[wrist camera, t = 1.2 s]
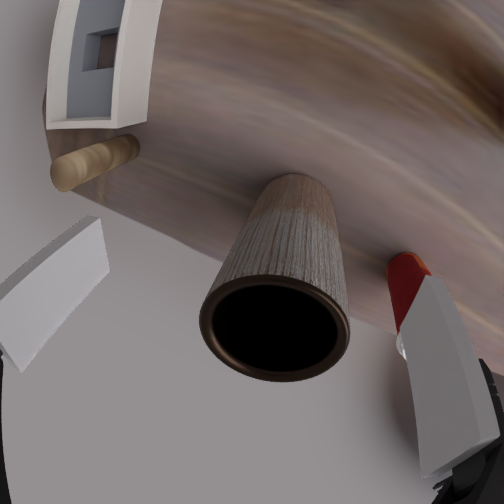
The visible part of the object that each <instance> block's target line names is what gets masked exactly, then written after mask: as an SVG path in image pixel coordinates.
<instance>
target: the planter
mask: <svg viewBox="0 0 504 504" xmlns="http://www.w3.org/2000/svg"><path fill="white" fill-rule="evenodd" d="M199 326H200V330H201V334H202V337H203V339H204V341H205V343H206V345H207V346H208V348H209V349H210V350H211V351H212V352H213V354H214V355H215V356H216V357H217V358H218V359H220V361H222V362H223V363H224V364H226V365H227V366H228V367H230V368H232V369H233V370H235V371H237V372H239V373H242V374H244V375H246V376H249V377H252V378H255V379H259V380H264V381H270V382H295V381H301V380H306V379H309V378H312V377H315V376H318V375H320V374H322V373H324V372H325V371H327V370H329V369H330V368H331V367H333V366H334V365H335V364H336V363H337V362H338V361H339V360H340V359H341V358H342V356H343V355H344V353H345V351H346V349H347V347H348V344H349V340H350V319H349V309H348V299H347V290H346V282H345V274H344V266H343V259H342V252H341V245H340V239H339V232H338V226H337V220H336V215H335V209H334V204H333V201H332V198H331V196H330V194H329V192H328V191H327V189H326V188H325V187H324V186H323V185H322V184H321V183H320V182H319V181H317V180H316V179H314V178H312V177H310V176H307V175H303V174H286V175H283V176H280V177H278V178H276V179H274V180H273V181H271V182H270V183H269V184H268V185H267V186H266V187H265V188H264V190H263V191H262V193H261V194H260V196H259V198H258V200H257V202H256V203H255V205H254V207H253V209H252V211H251V213H250V215H249V216H248V218H247V220H246V222H245V224H244V226H243V228H242V229H241V231H240V233H239V235H238V237H237V239H236V241H235V243H234V244H233V246H232V248H231V250H230V252H229V254H228V256H227V258H226V260H225V262H224V263H223V265H222V267H221V269H220V271H219V273H218V275H217V277H216V279H215V281H214V283H213V285H212V286H211V288H210V290H209V292H208V294H207V296H206V298H205V301H204V302H203V305H202V307H201V310H200V315H199Z"/></svg>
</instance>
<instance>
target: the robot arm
mask: <svg viewBox="0 0 504 504" xmlns="http://www.w3.org/2000/svg"><path fill="white" fill-rule="evenodd" d="M109 272H110V268H109V263H108V258H107V253H106V248H105V242H104V237H103V231H102V226H101V220H100V218H99V217H92V216H86V217H85V218H84V219H82V220H81V221H79V222H78V223H76V224H75V225H74V226H72V227H71V228H69V229H68V230H67V231H65V232H64V233H63V234H61V235H60V236H59V237H57V238H56V239H55V240H53V241H52V242H51V243H49V244H48V245H47V246H46V247H44V248H43V249H42V250H40V251H39V252H38V253H37V254H35V255H34V256H33V257H32V258H30V259H29V260H28V261H27V262H26V263H24V264H23V265H22V266H21V267H20V268H19V269H18V270H16V271H15V272H14V273H13V274H12V275H10V276H9V277H8V278H7V279H6V280H5V281H4V282H3V283H2V284H1V285H0V504H11V499H10V494H9V489H8V483H7V477H6V471H5V463H4V454H3V443H2V423H1V398H2V396H1V395H2V376H3V361H2V359H1V356H2V355H3V354H4V356H5V357H6V359H7V360H8V362H9V363H10V364H11V365H12V366H13V367H14V368H16V369H17V370H18V371H20V372H21V373H22V372H23V371H24V369H25V368H26V367H27V366H28V365H29V363H30V362H31V361H32V359H33V358H34V357H35V356H36V354H37V353H38V352H39V351H40V349H41V348H42V347H43V346H44V344H45V343H46V342H47V341H48V340H49V338H50V337H51V336H52V335H53V333H54V332H55V331H56V330H57V329H58V328H59V327H60V325H61V324H62V323H63V322H64V321H65V319H66V318H67V317H68V316H69V315H70V314H71V313H72V312H73V310H74V309H75V308H76V307H77V306H78V305H79V304H80V302H81V301H83V299H84V298H85V297H86V296H87V295H88V294H89V293H90V292H91V291H92V290H93V289H94V288H95V287H96V285H97V284H98V283H99V282H100V281H101V280H102V279H103V278H104V277H105V276H106V275H107V274H108V273H109ZM400 332H401V337H402V341H403V346H404V350H405V355H406V360H407V365H408V370H409V376H410V382H411V387H412V394H413V400H414V407H415V415H416V423H417V433H418V443H419V456H420V476H421V478H428V477H434V476H440V475H442V474H444V473H445V472H447V471H449V470H451V469H452V472H453V475H452V476H450V477H448V478H446V479H444V480H443V481H441V482H439V483H437V484H436V485H435V486H434V487H433V489H434V490H435V489H437V488H439V487H441V486H443V487H442V489H440V490H439V491H438V495H437V496H436V498H435V500H434V501H433V502H432V504H504V412H503V409H502V405H501V402H500V398H499V397H498V392H497V389H496V386H494V384H495V383H494V380H493V377H492V374H491V371H490V369H489V368H488V366H487V365H486V364H485V362H484V361H483V359H478V357H477V355H476V352H475V349H474V347H473V344H472V342H471V339H470V337H469V335H468V332H467V330H466V327H465V325H464V323H463V321H462V318H461V316H460V314H459V312H458V310H457V308H456V305H455V303H454V301H453V299H452V297H451V295H450V293H449V291H448V289H447V287H446V285H445V283H444V281H443V280H442V278H440V277H434V276H429V275H425V278H424V280H423V282H422V284H421V286H420V289H419V291H418V293H417V295H416V297H415V299H414V301H413V303H412V305H411V307H410V309H409V311H408V313H407V315H406V317H405V319H404V321H403V322H402V324H401V326H400Z"/></svg>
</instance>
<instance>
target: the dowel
mask: <svg viewBox="0 0 504 504" xmlns="http://www.w3.org/2000/svg"><path fill="white" fill-rule="evenodd" d="M139 150H140V145H139V142H138V140H137V138H136V137H135V136H133V135H131V134H126V135H122V136H119V137H116V138H112V139H109V140H106V141H103V142H100V143H97V144H94V145H91V146H88V147H85V148H82V149H79V150H77V151H74V152H71V153H69V154H66V155H63V156H61V157H58V158H56V159H55V160H54V161H53V162H52V164H51V169H50V174H51V179H52V182H53V184H54V186H55V187H56V188H57V189H58V190H59V191H61V192H67V191H69V190H71V189H73V188H75V187H76V186H78V185H80V184H82V183H84V182H86V181H88V180H90V179H92V178H94V177H96V176H98V175H100V174H102V173H104V172H107V171H109V170H111V169H113V168H115V167H117V166H120V165H122V164H124V163H126V162H128V161H131V160H133V159H135V158H136V157H137V156H138V154H139Z"/></svg>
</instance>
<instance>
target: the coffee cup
mask: <svg viewBox="0 0 504 504" xmlns="http://www.w3.org/2000/svg"><path fill="white" fill-rule="evenodd" d="M386 275H387V281H388V286H389V291H390V296H391V301H392V306H393V312H394V317H395V323H396V328H397V335H398V336H397V340H396V341H397V342H396V345H397V349H398V351H399V353H400V354H401V355H402V356H403V357H404V358H405V360H406V355H405V350H404V346H403V341H402V337H401V332H400V326H401V324H402V322H403V321H404V319H405V317H406V315H407V313H408V311H409V309H410V307H411V305H412V303H413V301H414V299H415V297H416V295H417V293H418V291H419V289H420V286H421V284H422V282H423V280H424V278H425V275H429V276H432V275H431V273H430V272H429V270H428V269H427V267H426V266H425V264H424V263H423V262H422V260H421V259H420V258H419V257H418V256H417V255H415V254H413V253H402V254H399V255H397V256H396V257H394V258H393V259H392V260H391V261H390V263H389V264H388V267H387V271H386Z"/></svg>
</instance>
